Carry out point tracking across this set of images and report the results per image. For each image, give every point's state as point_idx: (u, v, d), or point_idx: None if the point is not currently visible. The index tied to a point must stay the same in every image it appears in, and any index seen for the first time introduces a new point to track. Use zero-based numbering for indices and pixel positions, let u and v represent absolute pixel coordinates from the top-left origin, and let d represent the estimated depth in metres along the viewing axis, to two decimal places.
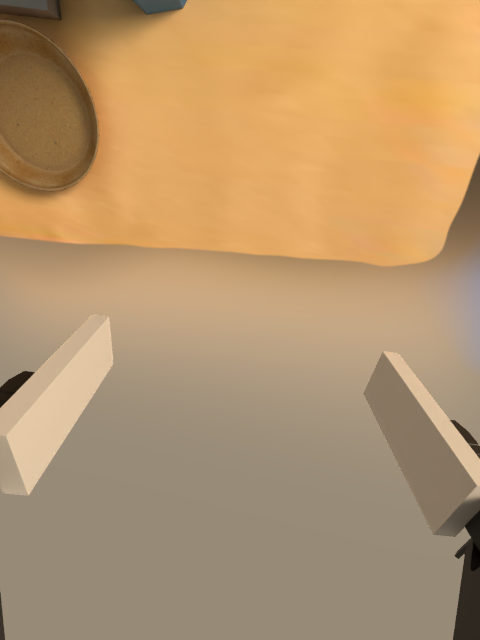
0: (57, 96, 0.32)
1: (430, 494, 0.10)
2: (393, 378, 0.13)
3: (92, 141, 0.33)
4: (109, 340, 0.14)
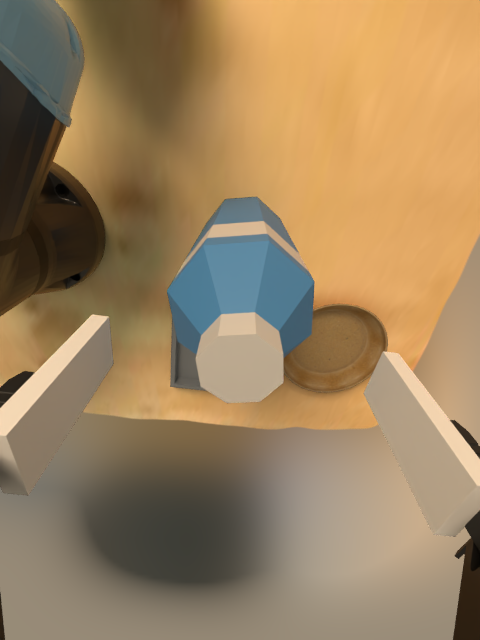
0: (317, 327, 0.41)
1: (430, 494, 0.10)
2: (393, 378, 0.13)
3: (354, 311, 0.39)
4: (109, 340, 0.14)
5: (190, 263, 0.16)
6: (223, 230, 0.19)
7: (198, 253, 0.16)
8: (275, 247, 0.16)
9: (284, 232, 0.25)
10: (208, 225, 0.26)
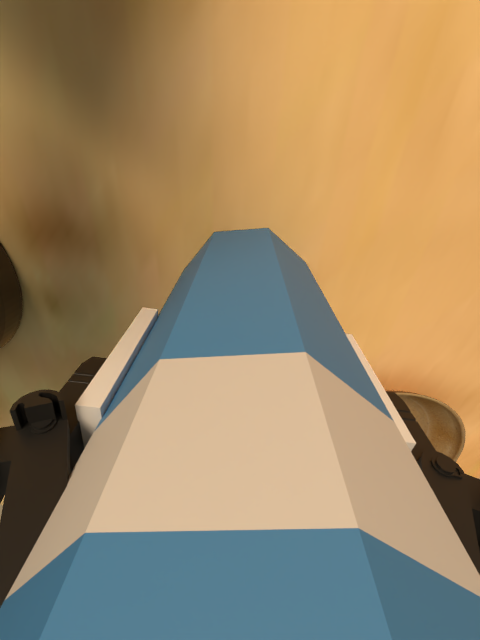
0: None
1: None
2: None
3: (415, 397, 0.25)
4: None
5: None
6: (176, 426, 0.05)
7: None
8: None
9: (332, 322, 0.12)
10: (173, 302, 0.13)
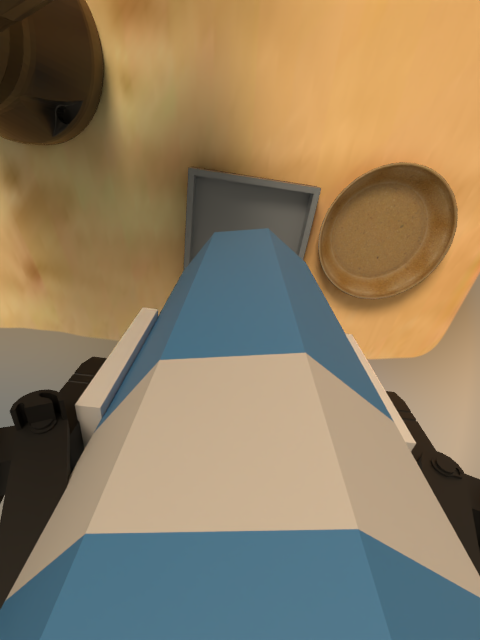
0: (366, 210, 0.33)
1: None
2: None
3: (416, 182, 0.31)
4: None
5: None
6: (176, 427, 0.05)
7: None
8: None
9: (332, 323, 0.12)
10: (173, 303, 0.13)
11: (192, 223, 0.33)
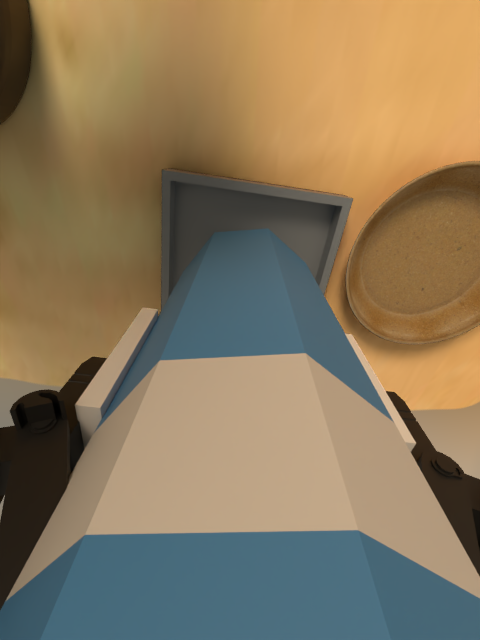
0: (411, 228, 0.24)
1: None
2: None
3: None
4: None
5: None
6: (176, 427, 0.05)
7: None
8: None
9: (332, 323, 0.12)
10: (173, 303, 0.13)
11: (171, 246, 0.24)
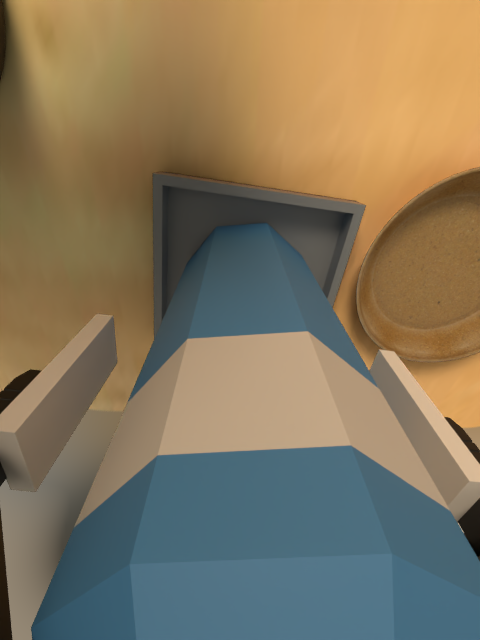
0: (428, 236, 0.22)
1: None
2: (389, 375, 0.13)
3: None
4: (113, 339, 0.14)
5: (89, 598, 0.04)
6: (211, 387, 0.07)
7: (113, 582, 0.04)
8: (411, 567, 0.04)
9: (327, 309, 0.14)
10: (185, 292, 0.14)
11: (164, 257, 0.21)
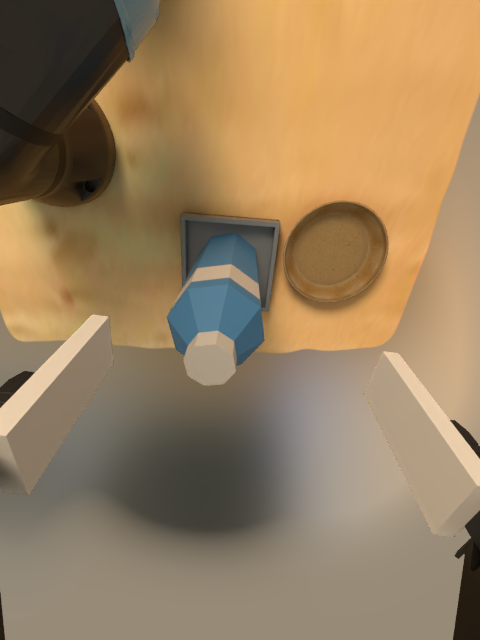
0: (319, 235, 0.43)
1: (430, 494, 0.10)
2: (393, 378, 0.13)
3: (353, 212, 0.40)
4: (109, 340, 0.14)
5: (180, 300, 0.26)
6: (202, 274, 0.28)
7: (185, 293, 0.26)
8: (232, 288, 0.25)
9: (252, 265, 0.35)
10: (197, 262, 0.36)
11: (186, 253, 0.43)
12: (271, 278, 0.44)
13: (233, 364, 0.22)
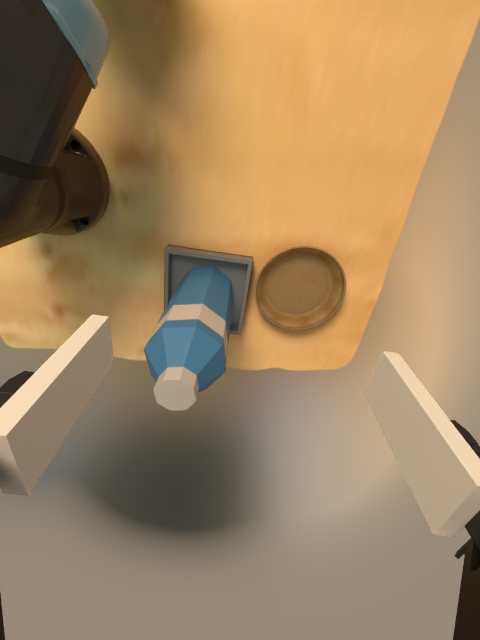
0: (287, 271, 0.48)
1: (430, 494, 0.10)
2: (393, 377, 0.13)
3: (317, 255, 0.46)
4: (109, 340, 0.14)
5: (155, 336, 0.31)
6: (177, 312, 0.34)
7: (159, 331, 0.31)
8: (199, 329, 0.31)
9: (223, 301, 0.40)
10: (176, 294, 0.41)
11: (169, 281, 0.48)
12: (244, 306, 0.49)
13: (193, 395, 0.28)
